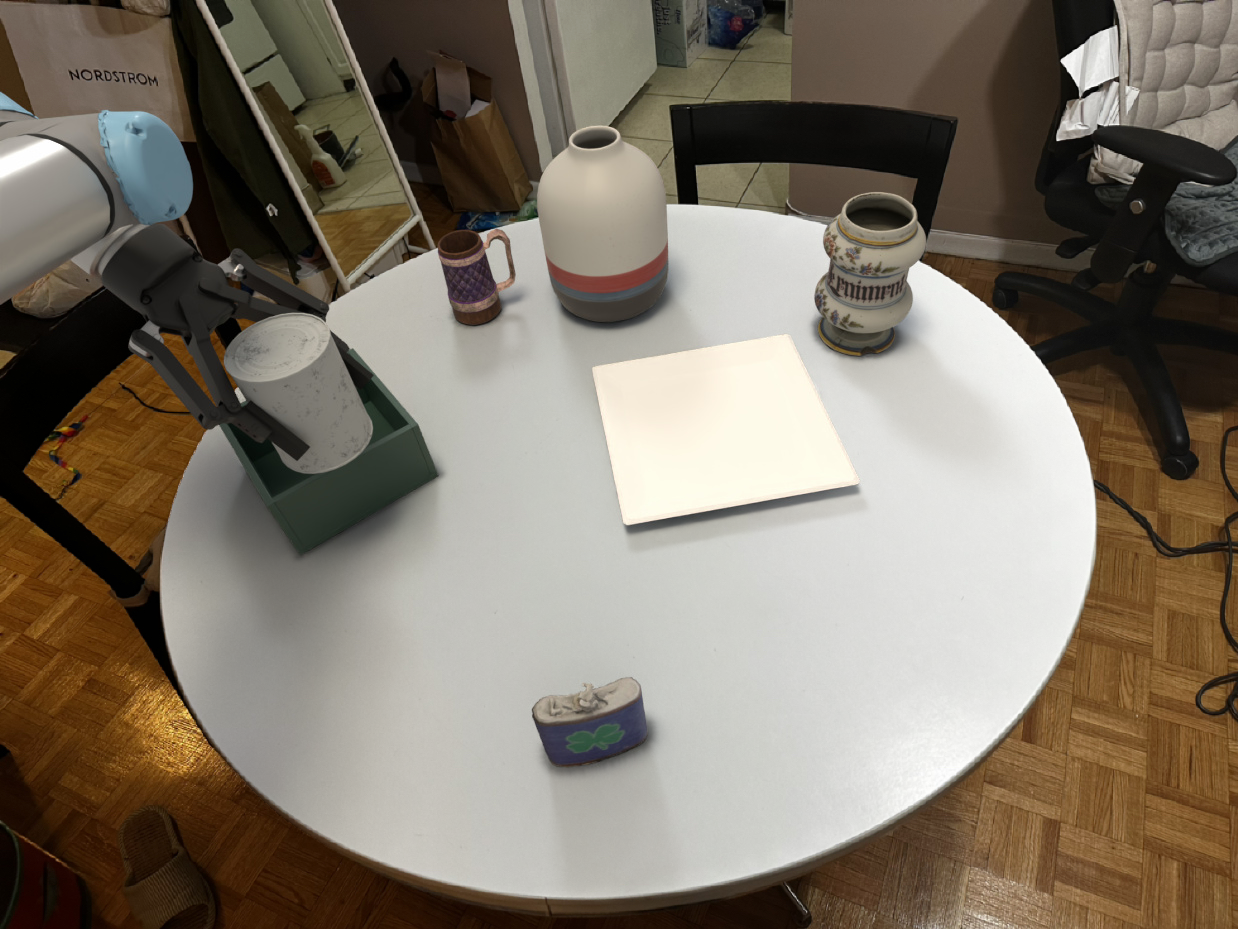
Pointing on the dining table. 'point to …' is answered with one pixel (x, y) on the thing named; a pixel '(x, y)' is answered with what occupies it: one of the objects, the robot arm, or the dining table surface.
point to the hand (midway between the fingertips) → (336, 417)
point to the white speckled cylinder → (302, 388)
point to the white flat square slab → (717, 429)
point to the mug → (472, 275)
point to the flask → (591, 723)
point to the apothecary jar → (868, 272)
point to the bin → (340, 472)
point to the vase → (604, 226)
